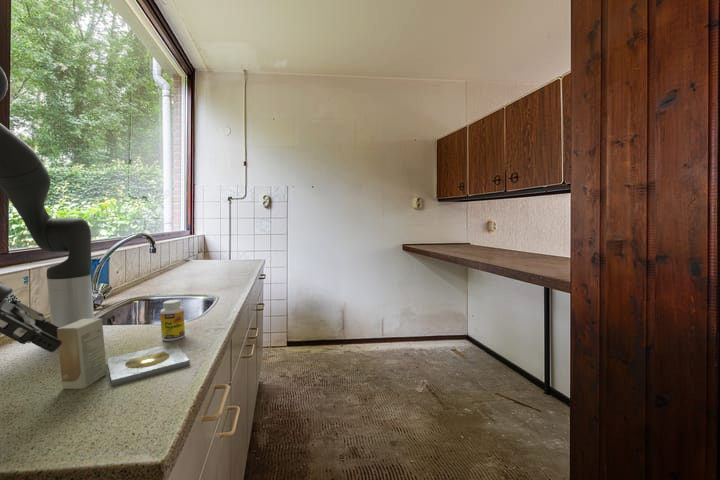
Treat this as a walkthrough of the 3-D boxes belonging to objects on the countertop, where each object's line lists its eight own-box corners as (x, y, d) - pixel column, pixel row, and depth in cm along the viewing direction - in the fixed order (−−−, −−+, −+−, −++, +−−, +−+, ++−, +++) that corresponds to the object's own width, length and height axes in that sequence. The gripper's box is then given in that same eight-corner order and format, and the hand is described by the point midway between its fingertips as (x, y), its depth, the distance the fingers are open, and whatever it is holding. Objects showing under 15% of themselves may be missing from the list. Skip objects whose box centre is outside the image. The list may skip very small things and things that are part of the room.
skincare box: (88, 374, 72) (83, 317, 71) (108, 374, 72) (103, 317, 71) (60, 390, 65) (55, 327, 64) (82, 390, 65) (77, 327, 64)
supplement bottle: (162, 343, 89) (160, 305, 88) (161, 337, 94) (159, 300, 93) (186, 338, 92) (184, 301, 91) (183, 333, 97) (181, 297, 96)
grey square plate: (107, 363, 77) (107, 357, 77) (176, 347, 86) (175, 342, 86) (111, 386, 66) (111, 380, 66) (189, 365, 75) (189, 359, 75)
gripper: (-25, 279, 54) (75, 333, 62) (-7, 270, 65) (76, 317, 73) (-75, 319, 51) (37, 371, 59) (-47, 302, 62) (44, 347, 70)
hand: (59, 341), depth 66 cm, fingers open, 8 cm apart
